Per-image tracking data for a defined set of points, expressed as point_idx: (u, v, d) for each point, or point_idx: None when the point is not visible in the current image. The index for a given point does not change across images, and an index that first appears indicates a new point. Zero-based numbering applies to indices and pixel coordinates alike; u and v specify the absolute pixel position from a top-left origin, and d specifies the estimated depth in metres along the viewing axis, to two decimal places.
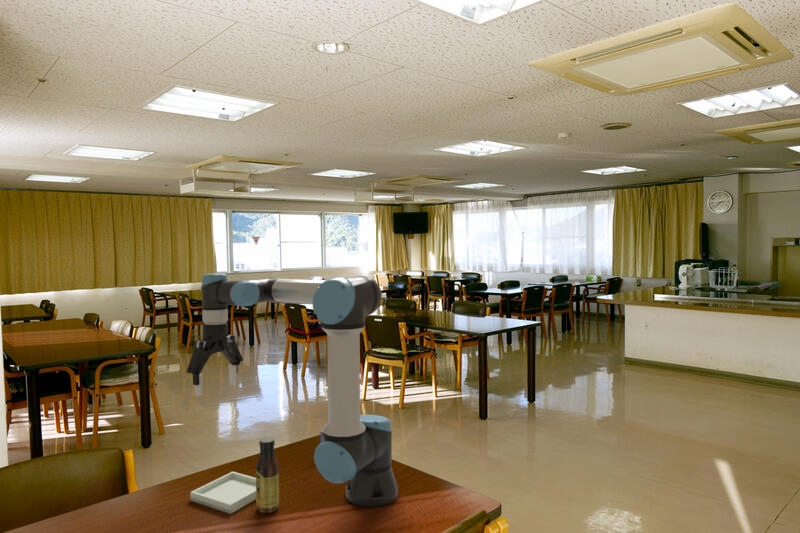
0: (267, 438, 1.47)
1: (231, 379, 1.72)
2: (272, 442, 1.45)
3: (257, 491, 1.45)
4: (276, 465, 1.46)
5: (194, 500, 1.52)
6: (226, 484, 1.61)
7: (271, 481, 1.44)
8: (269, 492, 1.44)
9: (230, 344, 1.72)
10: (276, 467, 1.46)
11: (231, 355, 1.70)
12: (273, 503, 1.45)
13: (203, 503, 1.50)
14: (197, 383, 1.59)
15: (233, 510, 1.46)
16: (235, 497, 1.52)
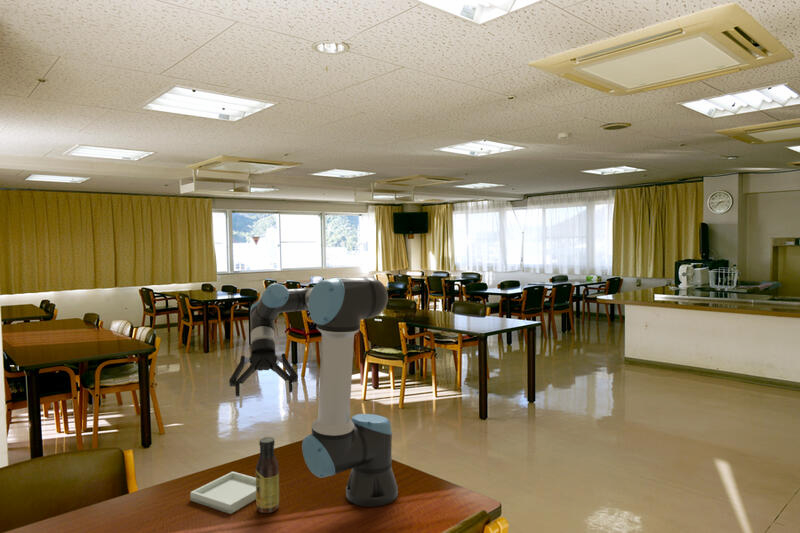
0: (267, 438, 1.47)
1: (286, 396, 1.60)
2: (272, 442, 1.45)
3: (257, 491, 1.45)
4: (276, 465, 1.46)
5: (194, 500, 1.52)
6: (226, 484, 1.61)
7: (271, 481, 1.44)
8: (269, 492, 1.44)
9: (283, 363, 1.67)
10: (276, 467, 1.46)
11: (281, 370, 1.64)
12: (273, 503, 1.45)
13: (203, 503, 1.50)
14: (237, 392, 1.57)
15: (233, 510, 1.46)
16: (235, 497, 1.52)
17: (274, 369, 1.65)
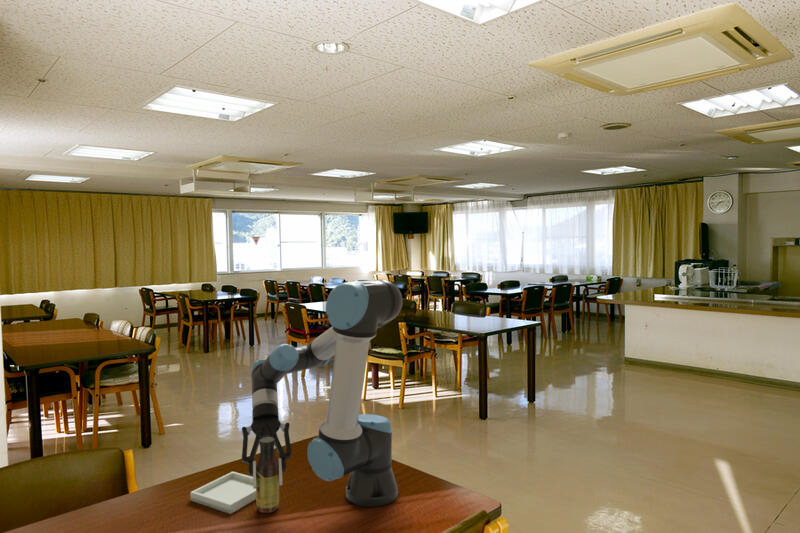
0: (267, 438, 1.47)
1: None
2: (272, 442, 1.45)
3: (257, 491, 1.45)
4: (276, 465, 1.46)
5: (194, 500, 1.52)
6: (226, 484, 1.61)
7: (271, 481, 1.44)
8: (269, 492, 1.44)
9: (284, 433, 1.54)
10: (276, 467, 1.46)
11: (278, 444, 1.51)
12: (273, 503, 1.45)
13: (203, 503, 1.50)
14: (250, 471, 1.44)
15: (233, 510, 1.46)
16: (235, 497, 1.52)
17: None
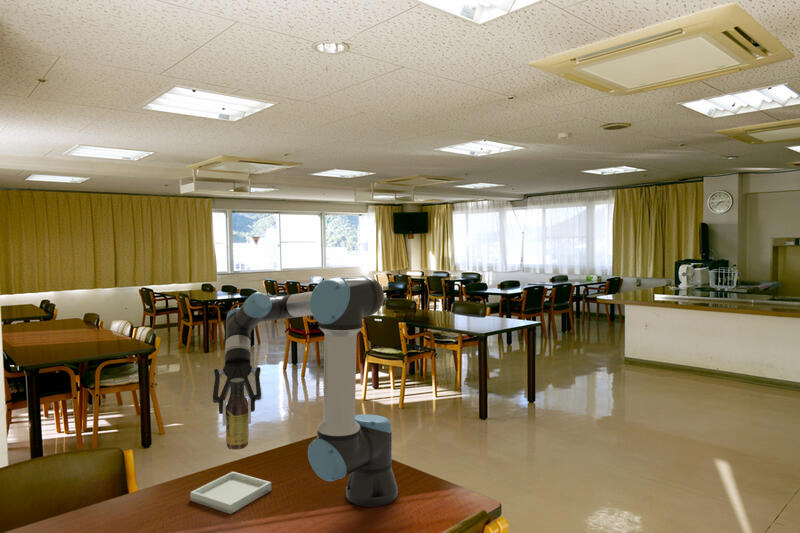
0: (237, 379, 1.53)
1: None
2: (242, 382, 1.51)
3: (227, 429, 1.51)
4: (245, 404, 1.52)
5: (194, 500, 1.52)
6: (226, 484, 1.61)
7: (240, 419, 1.51)
8: (238, 430, 1.51)
9: (255, 377, 1.60)
10: (245, 406, 1.52)
11: (248, 385, 1.57)
12: (242, 440, 1.52)
13: (203, 503, 1.50)
14: (220, 409, 1.51)
15: (233, 510, 1.46)
16: (235, 497, 1.52)
17: None
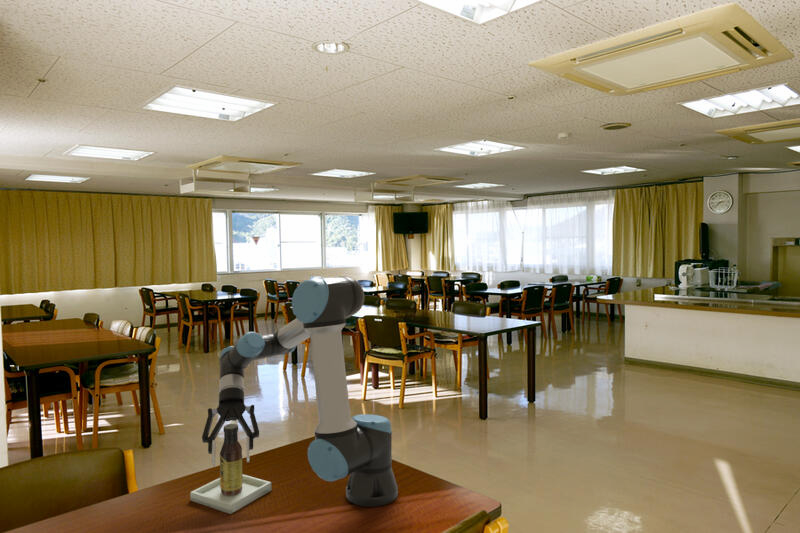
0: (231, 425, 1.55)
1: None
2: (235, 428, 1.53)
3: (221, 475, 1.53)
4: (239, 450, 1.54)
5: (194, 500, 1.52)
6: None
7: (234, 465, 1.53)
8: (232, 476, 1.53)
9: (250, 415, 1.63)
10: (239, 452, 1.54)
11: (245, 424, 1.59)
12: (236, 486, 1.53)
13: (203, 503, 1.50)
14: (209, 450, 1.52)
15: (233, 510, 1.46)
16: (235, 497, 1.52)
17: (239, 421, 1.61)
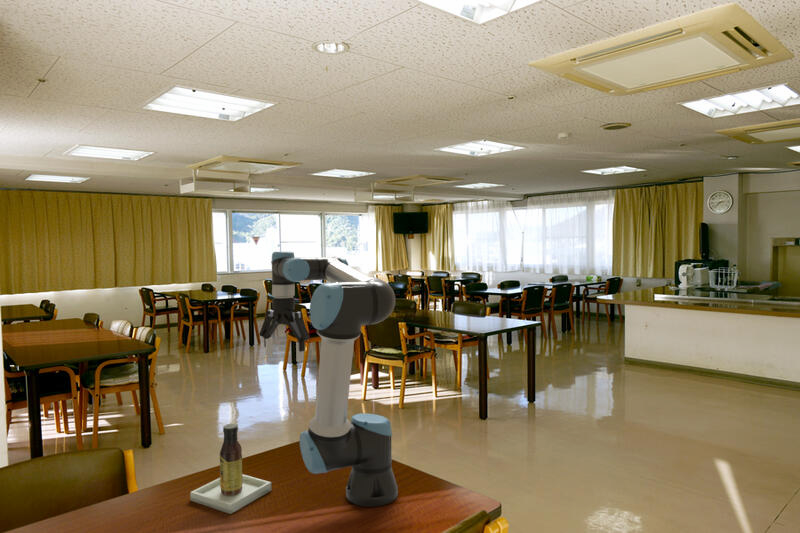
0: (230, 425, 1.55)
1: None
2: (235, 428, 1.53)
3: (221, 475, 1.53)
4: (239, 450, 1.54)
5: (194, 500, 1.52)
6: None
7: (233, 465, 1.53)
8: (232, 476, 1.53)
9: None
10: (239, 452, 1.54)
11: (293, 331, 1.77)
12: (236, 486, 1.53)
13: (203, 503, 1.50)
14: (265, 345, 1.84)
15: (233, 510, 1.46)
16: (235, 497, 1.52)
17: None
